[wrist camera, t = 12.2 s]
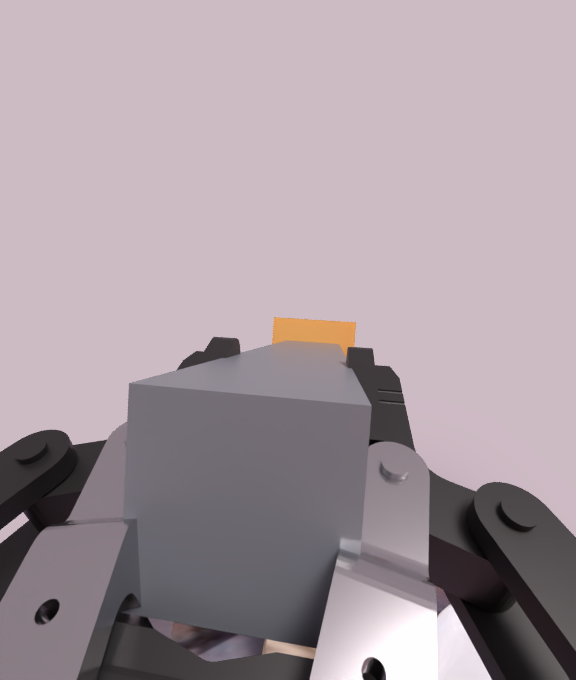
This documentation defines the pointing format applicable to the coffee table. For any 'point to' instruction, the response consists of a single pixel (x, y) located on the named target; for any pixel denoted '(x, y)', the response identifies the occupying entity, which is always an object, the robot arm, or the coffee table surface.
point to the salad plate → (456, 650)
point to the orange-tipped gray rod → (249, 483)
